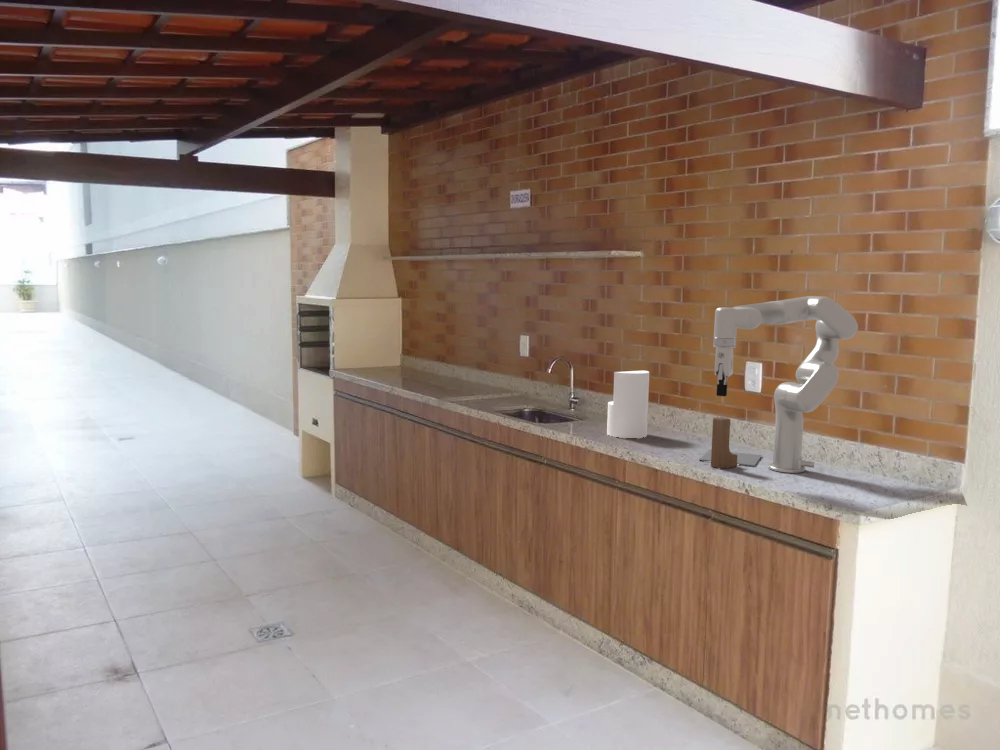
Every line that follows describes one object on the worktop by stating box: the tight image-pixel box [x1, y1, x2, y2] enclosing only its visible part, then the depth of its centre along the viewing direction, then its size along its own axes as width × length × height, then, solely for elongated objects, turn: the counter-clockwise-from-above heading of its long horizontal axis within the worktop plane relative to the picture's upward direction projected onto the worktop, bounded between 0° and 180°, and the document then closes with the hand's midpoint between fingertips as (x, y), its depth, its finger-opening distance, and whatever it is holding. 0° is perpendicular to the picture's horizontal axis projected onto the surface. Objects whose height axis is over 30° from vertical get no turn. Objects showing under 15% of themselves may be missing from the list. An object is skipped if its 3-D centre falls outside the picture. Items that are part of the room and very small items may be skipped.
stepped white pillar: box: [606, 370, 650, 439], centre depth 356 cm, size 17×17×28 cm
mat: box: [698, 449, 763, 468], centre depth 312 cm, size 20×20×1 cm
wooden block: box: [710, 416, 738, 469], centre depth 297 cm, size 9×4×18 cm, turn 120°
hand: (721, 395), depth 285 cm, fingers closed
